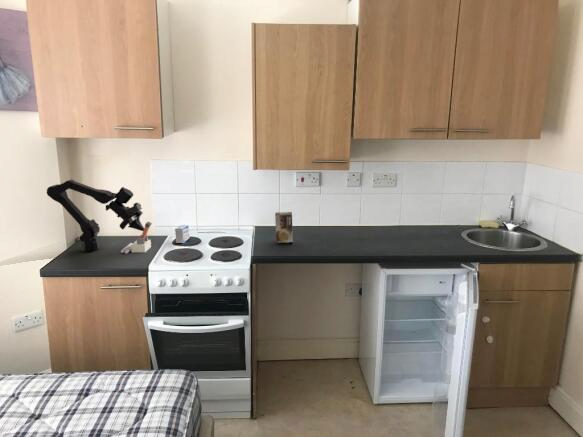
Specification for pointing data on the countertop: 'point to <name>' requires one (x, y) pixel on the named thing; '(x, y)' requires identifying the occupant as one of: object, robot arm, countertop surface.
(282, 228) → the coffee box
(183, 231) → the medicine box
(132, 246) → the switch box
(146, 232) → the lever
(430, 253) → the countertop surface
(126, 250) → the cables
